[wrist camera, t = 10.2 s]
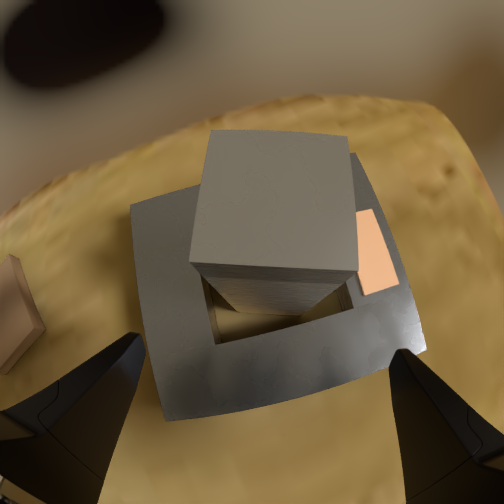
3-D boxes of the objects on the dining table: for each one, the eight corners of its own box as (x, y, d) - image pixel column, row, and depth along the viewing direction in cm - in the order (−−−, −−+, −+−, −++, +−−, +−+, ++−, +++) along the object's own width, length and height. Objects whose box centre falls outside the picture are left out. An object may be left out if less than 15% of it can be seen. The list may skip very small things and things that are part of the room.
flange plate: (408, 349, 17) (428, 349, 14) (178, 412, 16) (164, 422, 14) (347, 171, 21) (355, 150, 18) (143, 219, 20) (128, 203, 18)
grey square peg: (300, 315, 18) (359, 270, 6) (238, 312, 18) (188, 261, 7) (302, 255, 19) (347, 136, 8) (242, 252, 19) (210, 130, 8)
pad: (45, 329, 18) (33, 327, 17) (6, 374, 17) (-5, 374, 15) (19, 258, 20) (8, 253, 19) (-17, 306, 19) (-27, 303, 17)
